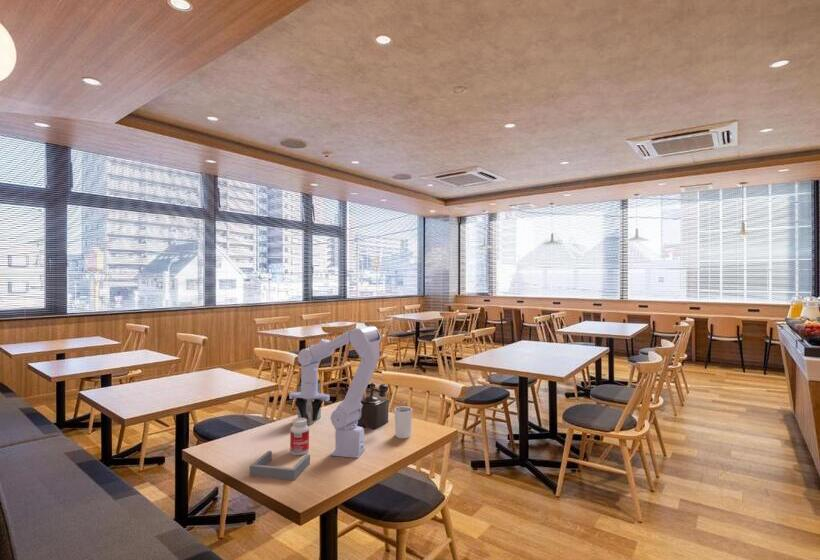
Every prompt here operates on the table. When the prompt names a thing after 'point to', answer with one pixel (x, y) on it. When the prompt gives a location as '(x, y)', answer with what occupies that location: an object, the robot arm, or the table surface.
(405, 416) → the drinking glass
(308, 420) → the coffee box
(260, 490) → the table surface
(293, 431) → the pill bottle
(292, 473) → the box
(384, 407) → the manual coffee grinder
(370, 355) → the robot arm
